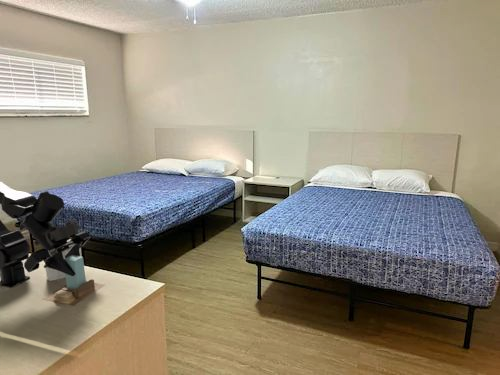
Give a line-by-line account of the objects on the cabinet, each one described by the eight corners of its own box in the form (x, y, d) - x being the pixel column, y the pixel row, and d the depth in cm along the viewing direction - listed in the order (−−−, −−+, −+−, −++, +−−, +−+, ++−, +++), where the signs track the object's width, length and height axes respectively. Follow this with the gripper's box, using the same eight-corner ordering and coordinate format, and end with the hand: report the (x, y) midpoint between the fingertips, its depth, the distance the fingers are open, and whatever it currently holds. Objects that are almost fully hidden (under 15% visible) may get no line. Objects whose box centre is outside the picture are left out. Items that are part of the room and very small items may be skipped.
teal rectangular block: (67, 293, 99) (63, 259, 96) (75, 288, 102) (71, 255, 99) (78, 295, 98) (74, 261, 95) (86, 290, 100) (82, 256, 98)
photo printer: (82, 270, 115) (78, 235, 112) (84, 275, 111) (80, 239, 109) (46, 278, 109) (41, 241, 107) (47, 284, 106) (42, 246, 103)
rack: (42, 301, 96) (40, 289, 95) (76, 281, 107) (74, 270, 106) (73, 308, 93) (72, 295, 92) (105, 287, 104) (104, 275, 103)
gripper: (25, 224, 87) (65, 271, 86) (82, 205, 104) (116, 244, 103) (7, 249, 91) (45, 294, 90) (65, 227, 108) (97, 265, 107)
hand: (78, 272), depth 98 cm, fingers closed on teal rectangular block, 3 cm apart
